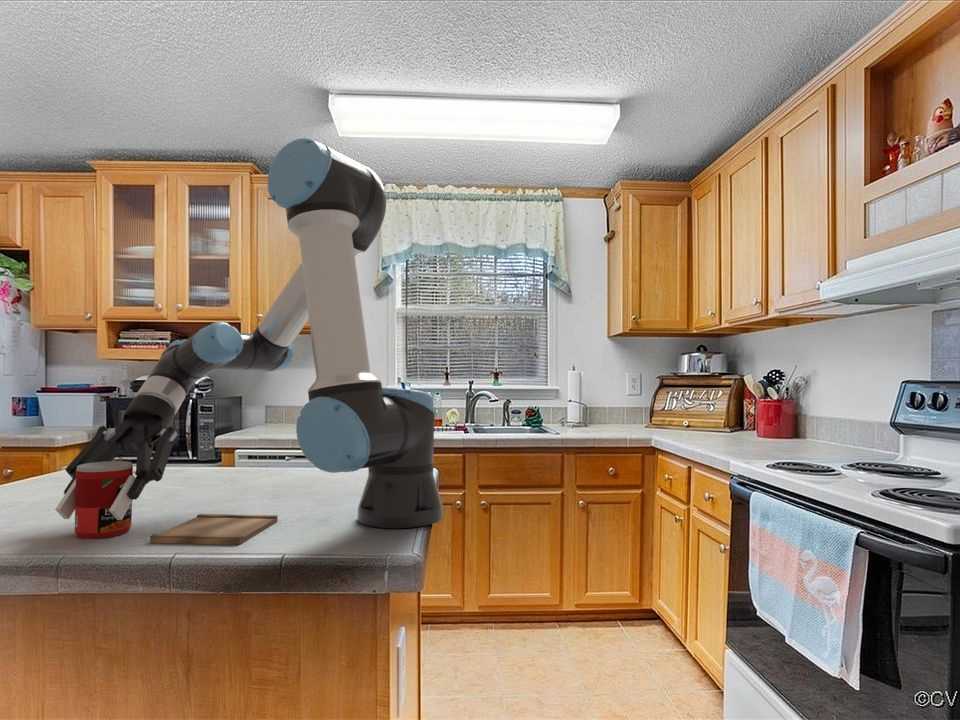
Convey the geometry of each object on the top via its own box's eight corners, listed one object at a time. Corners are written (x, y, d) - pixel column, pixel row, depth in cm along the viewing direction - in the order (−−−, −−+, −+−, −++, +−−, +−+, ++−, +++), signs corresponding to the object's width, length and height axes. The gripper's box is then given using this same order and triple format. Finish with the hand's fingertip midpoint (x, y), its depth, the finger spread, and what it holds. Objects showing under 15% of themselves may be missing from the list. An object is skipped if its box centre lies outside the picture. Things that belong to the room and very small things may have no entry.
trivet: (277, 521, 101) (277, 515, 101) (239, 544, 87) (239, 537, 87) (199, 520, 101) (199, 513, 101) (150, 542, 87) (150, 535, 87)
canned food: (104, 540, 88) (106, 468, 89) (61, 537, 90) (63, 466, 90) (143, 528, 96) (144, 461, 96) (102, 525, 97) (104, 460, 98)
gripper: (216, 420, 108) (163, 528, 92) (110, 419, 109) (38, 526, 93) (202, 393, 103) (142, 502, 86) (90, 392, 104) (10, 500, 88)
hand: (88, 514), depth 90 cm, fingers closed on canned food, 8 cm apart
